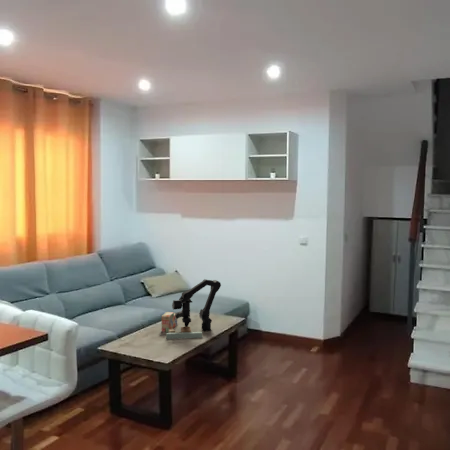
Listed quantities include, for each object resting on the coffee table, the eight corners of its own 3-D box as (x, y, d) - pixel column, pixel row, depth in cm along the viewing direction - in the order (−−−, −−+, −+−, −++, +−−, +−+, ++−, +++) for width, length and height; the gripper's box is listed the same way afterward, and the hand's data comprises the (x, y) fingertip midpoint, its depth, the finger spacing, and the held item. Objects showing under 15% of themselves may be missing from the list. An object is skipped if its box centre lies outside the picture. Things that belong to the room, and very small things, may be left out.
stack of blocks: (170, 324, 394) (170, 309, 393) (177, 324, 393) (177, 309, 392) (161, 331, 373) (161, 315, 372) (169, 332, 372) (169, 316, 371)
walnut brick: (190, 333, 370) (190, 326, 370) (190, 337, 360) (190, 330, 360) (180, 333, 369) (180, 326, 369) (181, 337, 359) (181, 330, 359)
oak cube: (173, 334, 366) (173, 329, 366) (175, 336, 362) (175, 330, 362) (168, 335, 365) (168, 329, 364) (169, 336, 361) (169, 331, 361)
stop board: (201, 336, 361) (201, 331, 361) (202, 337, 358) (202, 332, 358) (166, 337, 358) (166, 332, 358) (166, 338, 355) (166, 334, 355)
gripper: (174, 305, 380) (174, 325, 381) (176, 311, 361) (176, 332, 362) (189, 305, 381) (189, 324, 382) (191, 311, 363) (191, 331, 364)
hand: (186, 328), depth 373 cm, fingers closed
